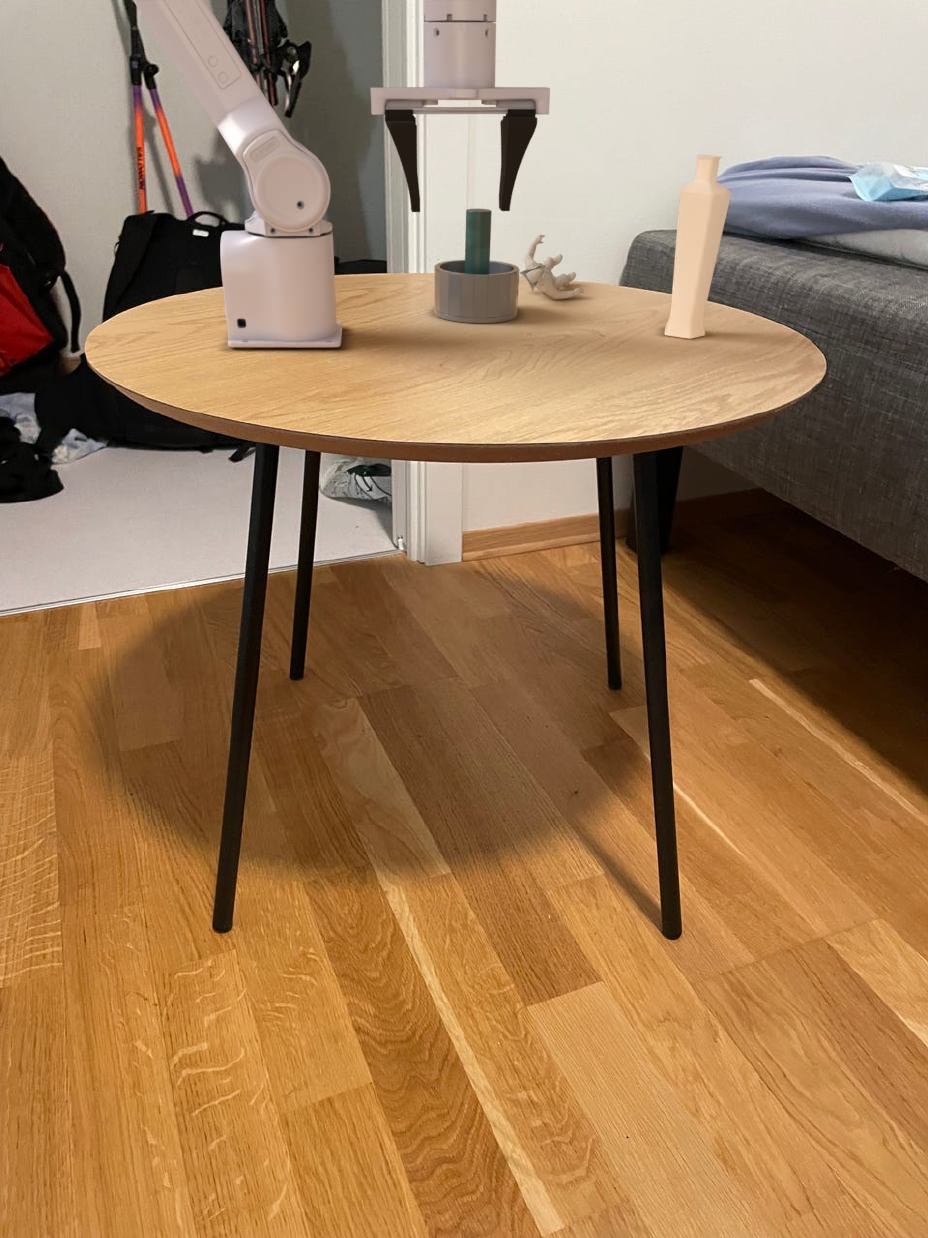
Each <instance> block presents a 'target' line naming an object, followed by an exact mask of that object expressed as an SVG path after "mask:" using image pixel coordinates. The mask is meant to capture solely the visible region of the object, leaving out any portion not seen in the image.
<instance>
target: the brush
mask: <svg viewBox="0 0 928 1238" xmlns="http://www.w3.org/2000/svg"><path fill="white" fill-rule="evenodd" d="M492 213H493V212H492V210H491V209H489V208H468V209H466V210H465V244H464V245H465V247H464V249H465V250H464V260H465V274H489V269H490V261H491V240H492V239H491V238H492V235H491V234H492Z"/></svg>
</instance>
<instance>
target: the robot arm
mask: <svg viewBox="0 0 928 1238" xmlns="http://www.w3.org/2000/svg"><path fill="white" fill-rule="evenodd" d="M132 1H133V3H134V4H135V6H136V7H137V9H138V11H139V12H140V13H141V15H142V16H143V18H144V20H145V21H146V23H147V24H148V25H149V27H150V28H151V31H153V33H154V34H155V36H156V38H157V39H158V41H159V42H160V43H161V45H162V47H163V48H164V49H165V51H166V52H167V54H168V55H169V57H170V59H171V60H172V62H173V63H174V65H175V66H176V69H178V71H179V72H180V74H181V75H182V77H183V78H184V80H185V81H186V83H187V85H188V86H189V88H190V89H191V91H192V93H193V94H194V95H195V96H196V98H197V99H198V101H199V102H200V105H201V106H202V107H203V109H204V110H205V112H206V114H207V115H208V116H209V118H210V120H211V121H212V123H213V124H214V125H215V127H216V128H217V130H218V131H219V133H220V135H221V136H222V138H223V139H224V141H225V143H226V144H227V146H228V148H229V149H230V151H231V153H232V154H233V156H234V158H235V159H236V160H237V162H238V163H239V165H240V166H241V168H242V170H243V174H244V179H245V185H246V188H247V191H248V193H249V197H250V201H251V203H252V206H253V208H254V211H253V213H252V214H251V216H250V217H249V218H248V219H246V220H245V221H244V230H224V231H223V232H222V233H221V236H220V250H219V251H220V269H221V271H220V272H221V281H222V289H223V300H224V316H225V321H226V327H227V329H226V330H227V339H228V340H227V347H229V348H340V347H341V346H342V339H343V322H342V321H341V320H337V301H336V300H337V299H336V280H335V279H336V278H335V255H334V254H335V253H334V252H335V251H334V233H333V223H332V222H330V221H327V220H325V219H324V218H323V217H324V216H325V214H326V212H327V211H328V208H329V205H330V201H331V193H332V192H331V190H332V189H331V181H330V178H329V177H330V176H329V174H328V172H327V169H326V167H325V166H324V164H323V162H322V161H321V160H320V159H319V158H318V157H317V156H316V155H315V154H314V153H313V152H312V151H310V150H309V149H308V148H307V147H305V146H304V145H303V144H302V143H300V141H298V140H296V139H295V138H294V137H292V135H291V134H290V133H289V131H288V130H287V128H286V127H285V125H284V123H283V122H282V120H281V119H280V117H279V115H278V114H277V113H276V111H275V110H274V108H273V107H272V105H271V104H270V102H269V100H268V99H267V98H266V96H265V94H264V93H263V91H262V89H261V88H260V87H259V85H258V83H257V82H256V80H255V78H254V77H253V75H252V74H251V72H250V70H249V69H248V67H247V65H246V63H245V62H244V60H243V59H242V58H241V56H240V54H239V53H238V50H237V49H236V47H235V46H234V44H233V43H232V41H231V39H230V38H229V37H228V35H227V33H226V32H225V29H224V28H223V27H222V25H221V23H220V22H219V21H218V18H217V17H216V15H215V13H214V12H213V11H212V9H211V7H210V6H209V4H208V3H207V1H206V0H132ZM497 1H498V0H423V22H424V23H423V49H424V51H423V52H424V55H423V56H424V57H423V58H424V59H423V60H424V86H401V87H400V86H395V87H393V86H392V87H390V86H389V87H387V86H385V87H383V86H382V87H381V86H379V87H377V86H375V87H370V113H371V115H372V116H384V122H385V125H386V127H387V130H388V132H389V134H390V137H391V139H392V141H393V144H394V146H395V149H396V152H397V154H398V157H399V160H400V163H401V166H402V170H403V173H404V176H405V180H406V185H407V189H408V195H409V202H410V211H411V213H421V197H420V196H421V195H420V184H419V175H418V125H417V119H416V117H415V115H503V116H502V119H501V120H500V123H499V124H500V176H499V189H498V209H499V210H500V211H501V212H510V211H511V204H512V197H513V192H514V188H515V184H516V181H517V177H518V173H519V171H520V167H521V165H522V161H523V159H524V157H525V154H526V152H527V149H528V147H529V145H530V142H531V140H532V138H533V136H534V134H535V132H536V129H537V126H538V117H537V115H539V116H541V115H545V116H546V115H547V116H548V115H549V114H550V100H551V99H550V98H551V88H550V87H545V86H543V87H539V86H538V87H537V86H535V87H531V86H530V87H529V86H527V87H525V86H524V87H523V86H521V87H520V86H496V55H497V54H496V52H497V3H498V2H497ZM439 101H481V105H484V106H438V105H439Z"/></svg>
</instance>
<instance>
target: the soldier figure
mask: <svg viewBox="0 0 928 1238" xmlns="http://www.w3.org/2000/svg"><path fill="white" fill-rule="evenodd" d="M545 237H546V235H545V234H539V235H537V236H535V238H534V240H533V241H532V242H531V243H530V245H529V247H528V249H527V251H526V254H525V256H524V267H525V269H524V270H521V271H519V275H520V276H521V277H523V278H524V279H525V280H526V281H527V283H528V284H529V286H530V288H531V291H532V292H534V290H535V289H537V290H539V291H540V293H542V294H545V295H547V296H549V297H551V298H552V300H565V299H571V298H573V297H579V296H580V295H582V294H585V290H584V289H583V288H581V287H577V288H575V289H573V290H559V289H561V288H562V287H568V286H569V284H570V283H571V282H573V281H574V280H575V278H576V276H577V274H576V272H575V271H572V272H570V273H568V274H566V273H561V274H560V275H558V276H555V275H554V274H553V272H552V270H553V269H554V267H556V266H557V265H559V264H561V262H562V260H563V258H564V257H563V255H562V253H559V254H557V255H556V256H555V257H552V256H548V257H546V259H545V260H543V261H542V263H541V262H537V261H535V260H534V258H535V255H536V249H537V246H538V245H540V244H541V245H542V244H544V241H542V239H543V238H545Z"/></svg>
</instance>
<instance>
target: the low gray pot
mask: <svg viewBox="0 0 928 1238" xmlns="http://www.w3.org/2000/svg"><path fill="white" fill-rule="evenodd" d="M433 270H434V271H433V272H434V274H433V275H434V276H433V309H434V311H433V312H434V315H435V316H436V317H437V318H441V319H443V320H447V321H451V322H458V323H466V324H467V323H469V324H495V323H502V322H507V321H511V320H513V319H515V318H516V317H517V316H518V314H517V313H518V307H519V290H520V289H519V286H520V267H519V266H517V265H516V264H513V263H510V262H509V263H508V262H504V261H497V260H490V269H489V274H465V259H454V260H446V261H442V262H438V263H436V264H434V267H433Z"/></svg>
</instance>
